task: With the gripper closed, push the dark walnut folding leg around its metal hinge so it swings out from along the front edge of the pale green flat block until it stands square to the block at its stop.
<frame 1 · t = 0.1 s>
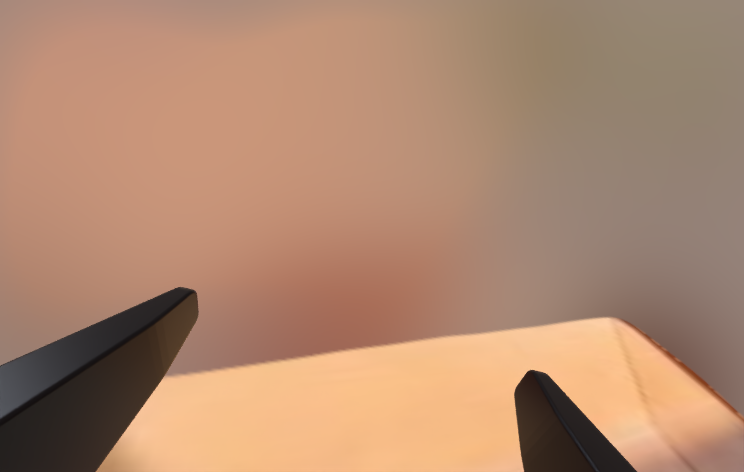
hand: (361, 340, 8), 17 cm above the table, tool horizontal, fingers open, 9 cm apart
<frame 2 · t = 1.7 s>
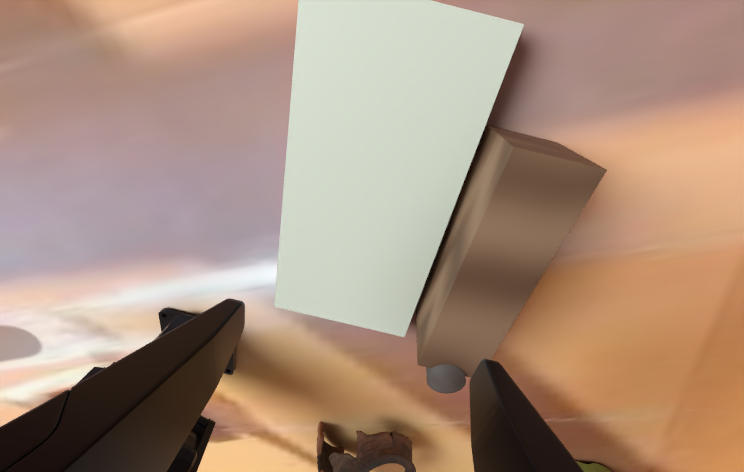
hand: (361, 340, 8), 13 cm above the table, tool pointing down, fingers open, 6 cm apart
folding leg: (477, 273, 19), point 3 cm above the table, hinge at 0.0°
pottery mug: (364, 435, 34), on the table
pale green flat block: (369, 191, 20), on the table
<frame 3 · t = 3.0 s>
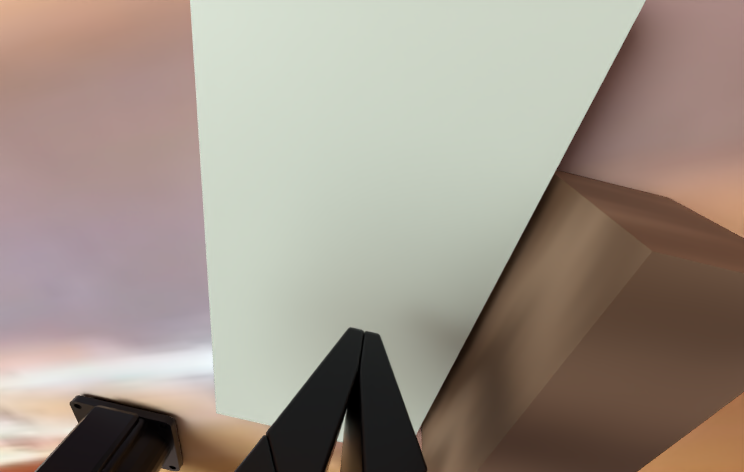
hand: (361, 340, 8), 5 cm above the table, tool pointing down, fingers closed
folding leg: (522, 402, 12), point 3 cm above the table, hinge at 0.0°
pale green flat block: (350, 261, 13), on the table
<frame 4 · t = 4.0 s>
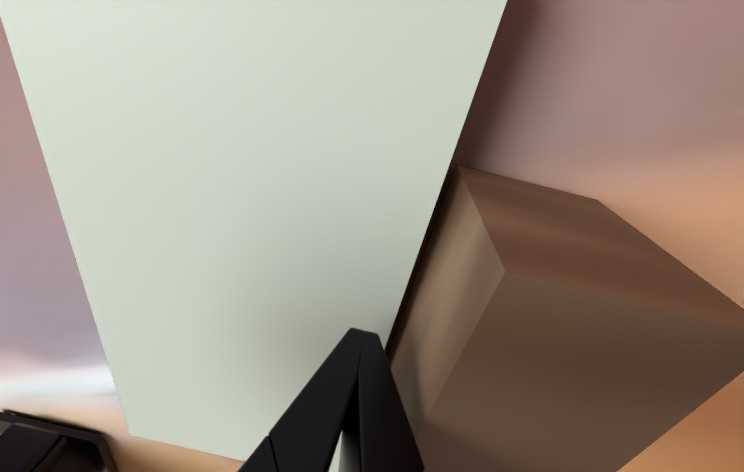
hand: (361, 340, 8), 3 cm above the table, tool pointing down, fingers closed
folding leg: (442, 432, 10), point 3 cm above the table, hinge at 0.0°, touching gripper
pale green flat block: (257, 269, 12), on the table
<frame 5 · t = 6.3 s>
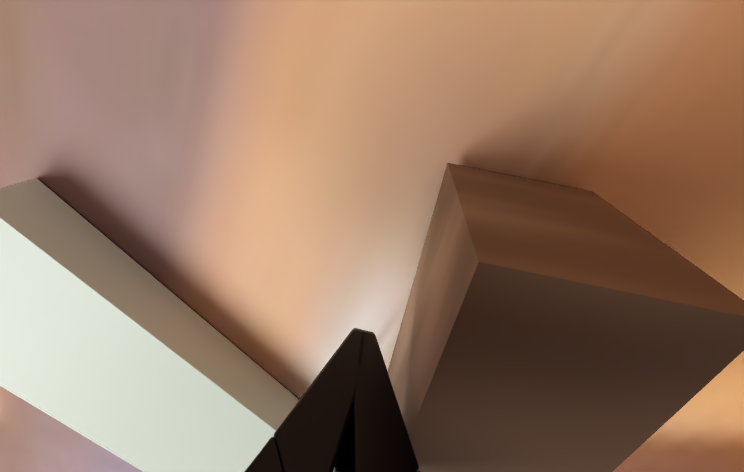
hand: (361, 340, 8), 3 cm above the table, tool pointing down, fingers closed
folding leg: (447, 432, 10), point 3 cm above the table, hinge at 46.9°, touching gripper
pale green flat block: (182, 388, 16), on the table
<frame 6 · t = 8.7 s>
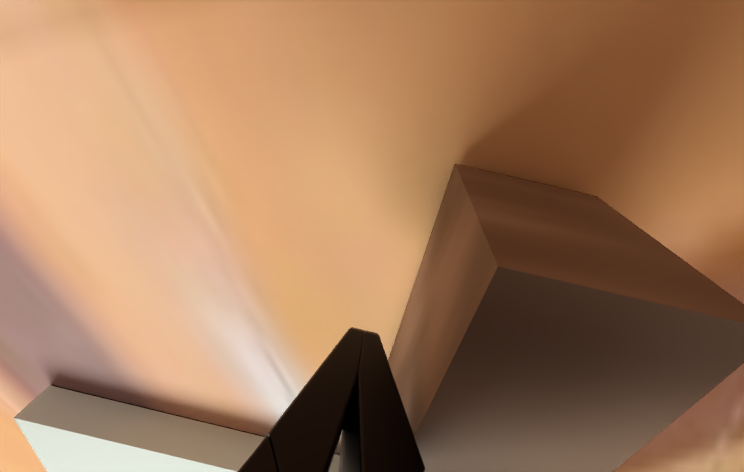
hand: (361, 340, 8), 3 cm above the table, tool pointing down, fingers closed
folding leg: (445, 430, 10), point 3 cm above the table, hinge at 88.9°, touching gripper
pale green flat block: (229, 471, 20), on the table
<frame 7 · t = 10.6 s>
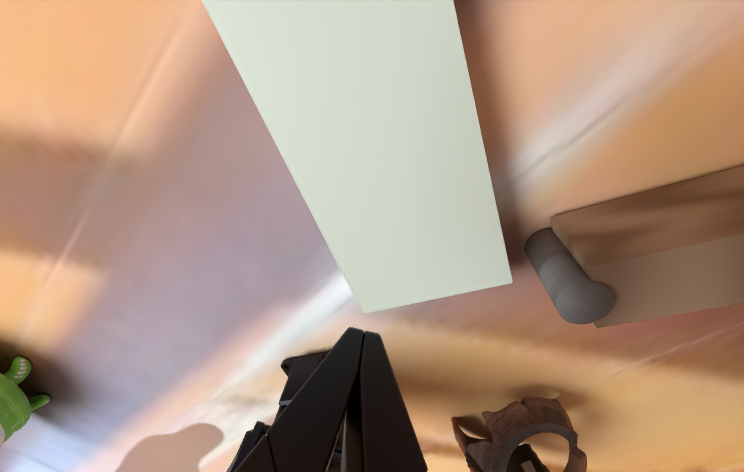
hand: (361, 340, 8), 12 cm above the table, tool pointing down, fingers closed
turtle holder: (3, 375, 36), on the table
folding leg: (709, 239, 16), point 3 cm above the table, hinge at 88.9°
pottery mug: (507, 415, 30), on the table
pale green flat block: (383, 148, 18), on the table
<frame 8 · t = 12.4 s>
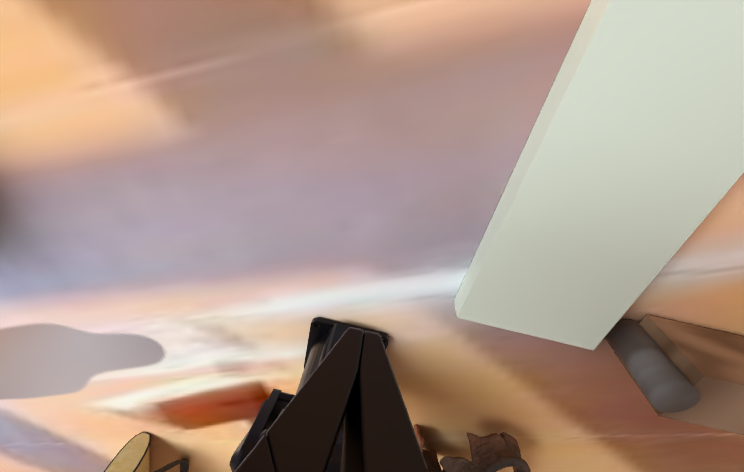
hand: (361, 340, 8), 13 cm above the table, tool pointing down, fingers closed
folding leg: (743, 383, 21), point 3 cm above the table, hinge at 88.9°
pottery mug: (460, 437, 33), on the table
pale green flat block: (591, 196, 19), on the table
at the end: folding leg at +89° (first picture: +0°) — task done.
